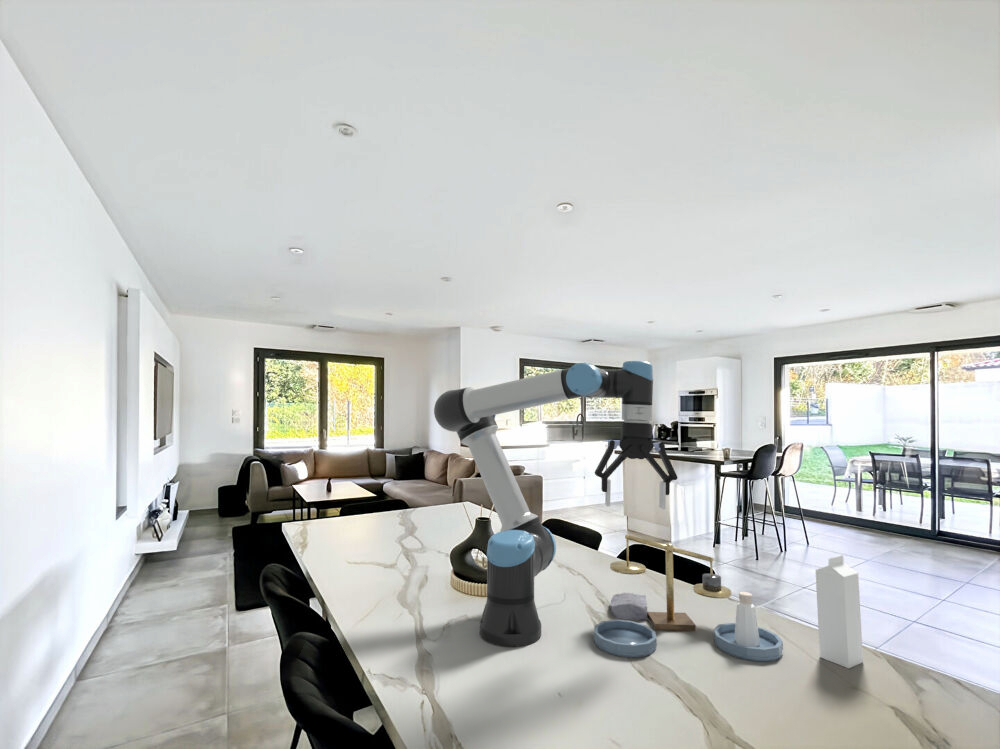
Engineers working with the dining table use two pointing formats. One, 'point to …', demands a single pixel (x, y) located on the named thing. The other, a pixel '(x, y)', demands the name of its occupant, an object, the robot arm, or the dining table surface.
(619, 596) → the stone block
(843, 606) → the milk
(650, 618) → the balance
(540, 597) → the dining table surface
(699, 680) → the dining table surface
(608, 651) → the dish high side
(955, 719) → the dining table surface
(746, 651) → the dish low side
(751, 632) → the salt shaker
